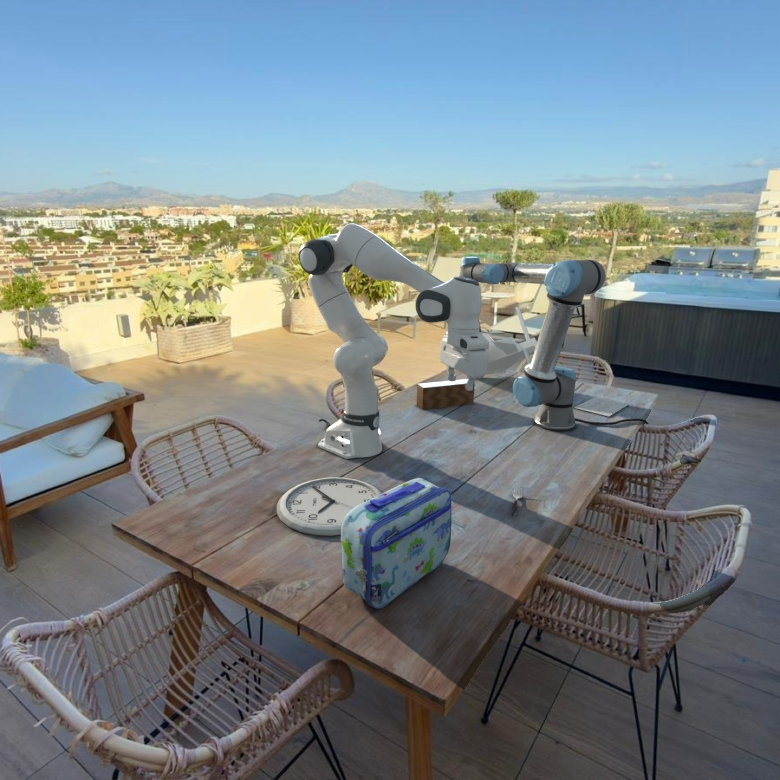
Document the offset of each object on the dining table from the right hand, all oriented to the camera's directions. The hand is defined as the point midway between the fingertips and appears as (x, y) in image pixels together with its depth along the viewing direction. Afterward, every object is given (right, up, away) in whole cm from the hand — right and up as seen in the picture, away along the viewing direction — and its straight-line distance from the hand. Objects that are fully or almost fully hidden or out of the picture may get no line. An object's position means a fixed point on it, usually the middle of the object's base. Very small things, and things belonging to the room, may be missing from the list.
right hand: (465, 346), depth 221 cm
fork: (+3, -50, -76) cm, 91 cm away
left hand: (-12, -17, -73) cm, 76 cm away
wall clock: (-48, -50, -78) cm, 104 cm away
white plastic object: (+24, -15, +37) cm, 47 cm away
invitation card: (+60, -26, +5) cm, 65 cm away
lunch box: (-30, -60, -108) cm, 127 cm away
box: (-8, -25, +5) cm, 26 cm away
